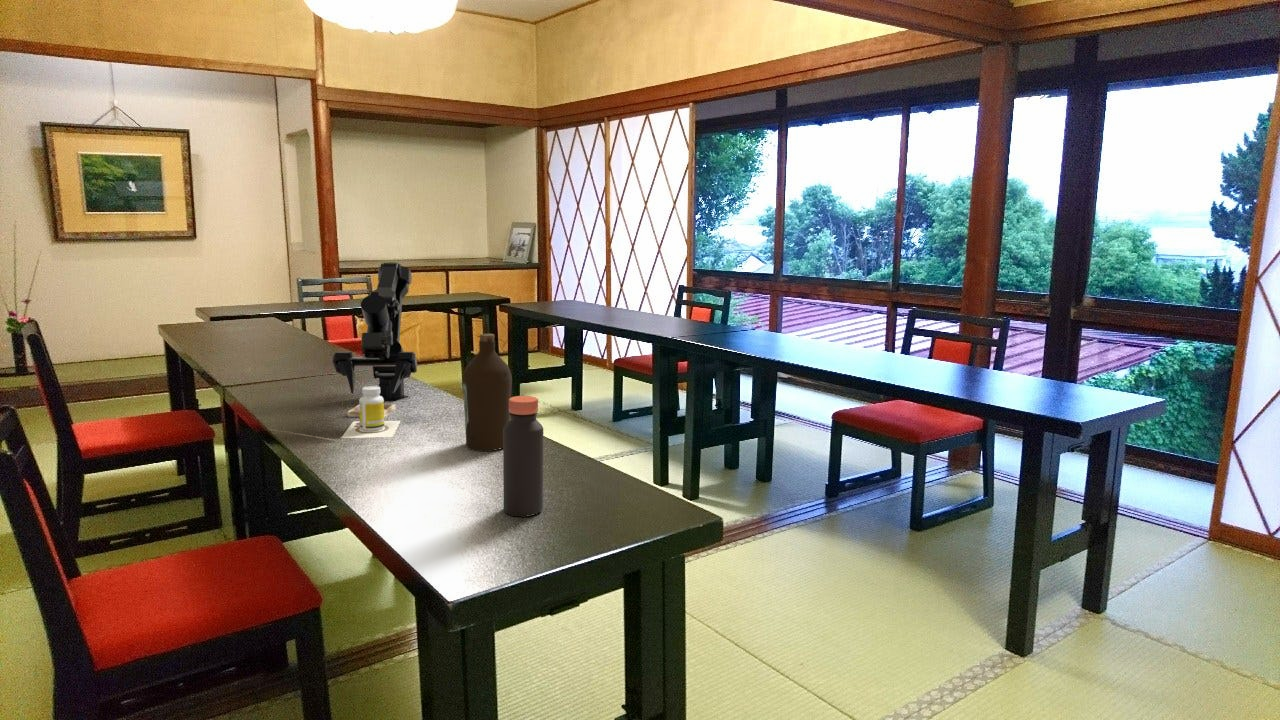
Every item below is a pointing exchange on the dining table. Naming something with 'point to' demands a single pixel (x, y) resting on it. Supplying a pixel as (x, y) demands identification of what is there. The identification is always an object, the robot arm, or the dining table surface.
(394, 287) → the robot arm
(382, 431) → the card
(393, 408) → the masu tray
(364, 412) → the supplement bottle
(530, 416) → the vinegar
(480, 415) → the brown rum bottle
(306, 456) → the dining table surface
